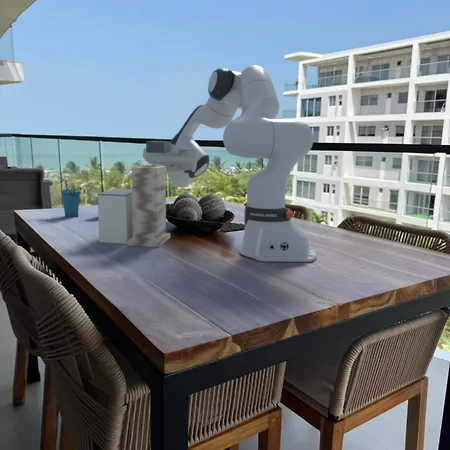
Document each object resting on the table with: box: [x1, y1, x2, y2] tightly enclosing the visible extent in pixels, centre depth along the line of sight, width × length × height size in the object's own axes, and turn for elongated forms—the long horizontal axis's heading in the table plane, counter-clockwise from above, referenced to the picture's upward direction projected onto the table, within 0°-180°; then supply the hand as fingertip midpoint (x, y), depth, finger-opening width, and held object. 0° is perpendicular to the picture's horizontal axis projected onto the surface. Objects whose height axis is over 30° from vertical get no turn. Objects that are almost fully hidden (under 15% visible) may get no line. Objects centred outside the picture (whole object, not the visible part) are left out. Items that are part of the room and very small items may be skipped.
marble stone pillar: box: [126, 164, 171, 248], centre depth 144 cm, size 10×14×24 cm
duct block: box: [97, 188, 133, 245], centre depth 148 cm, size 9×14×16 cm, turn 172°
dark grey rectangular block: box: [145, 140, 172, 153], centre depth 155 cm, size 6×18×4 cm, turn 173°
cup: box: [60, 178, 81, 218], centre depth 184 cm, size 14×8×15 cm, turn 45°
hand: (166, 146), depth 161 cm, fingers closed on dark grey rectangular block, 2 cm apart
